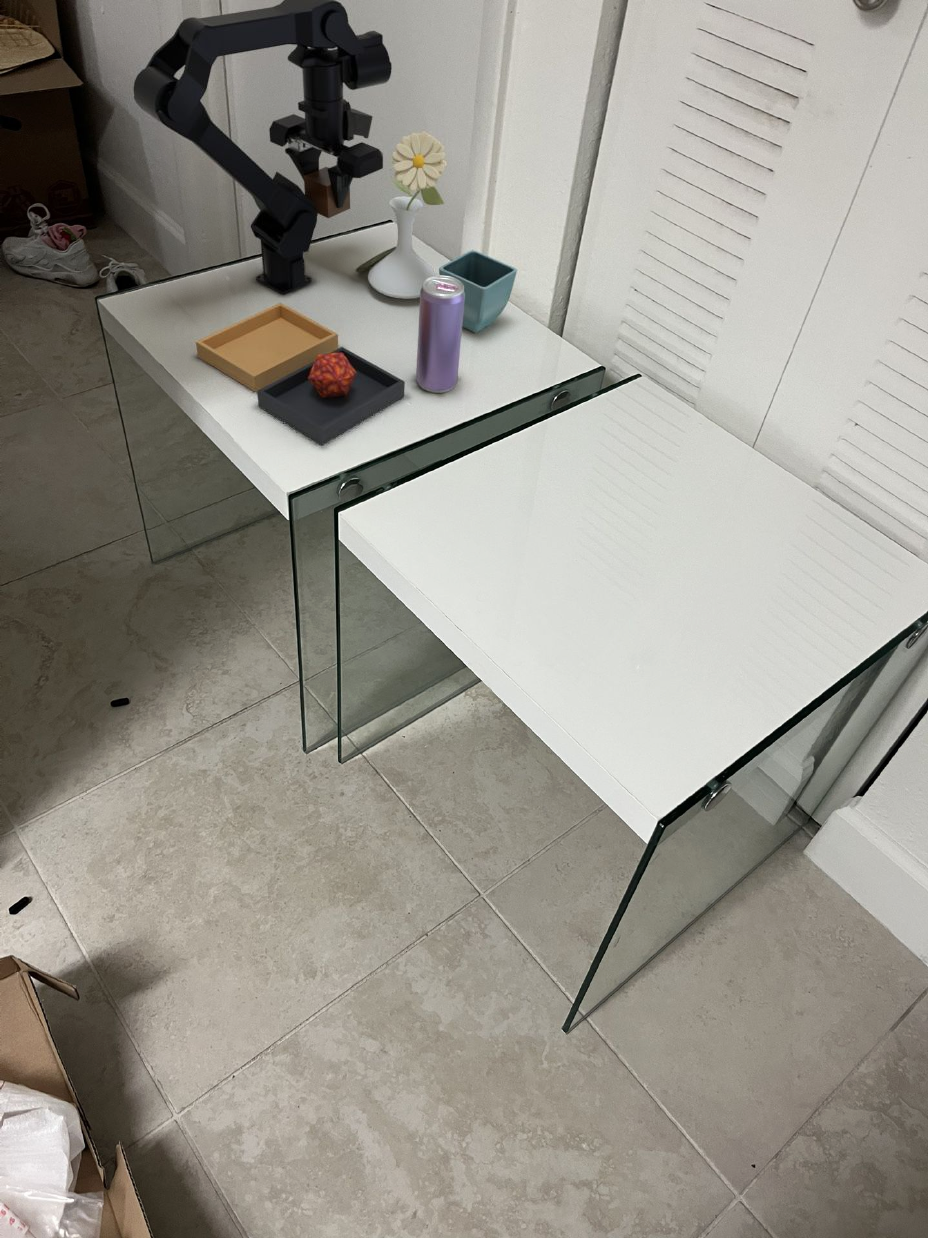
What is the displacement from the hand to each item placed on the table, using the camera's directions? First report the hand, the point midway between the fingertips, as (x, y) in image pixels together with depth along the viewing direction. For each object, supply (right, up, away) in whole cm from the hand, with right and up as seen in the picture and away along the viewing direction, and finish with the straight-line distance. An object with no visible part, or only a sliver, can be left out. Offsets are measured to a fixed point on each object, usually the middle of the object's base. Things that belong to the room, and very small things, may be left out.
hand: (327, 201), depth 149 cm
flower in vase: (+12, -12, +5) cm, 18 cm away
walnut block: (0, -1, +1) cm, 1 cm away
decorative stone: (+3, -34, -17) cm, 38 cm away
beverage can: (+17, -32, -12) cm, 38 cm away
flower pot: (+23, -19, 0) cm, 30 cm away
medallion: (+7, -7, +5) cm, 11 cm away
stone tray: (+3, -35, -18) cm, 40 cm away
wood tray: (-7, -27, -11) cm, 30 cm away
